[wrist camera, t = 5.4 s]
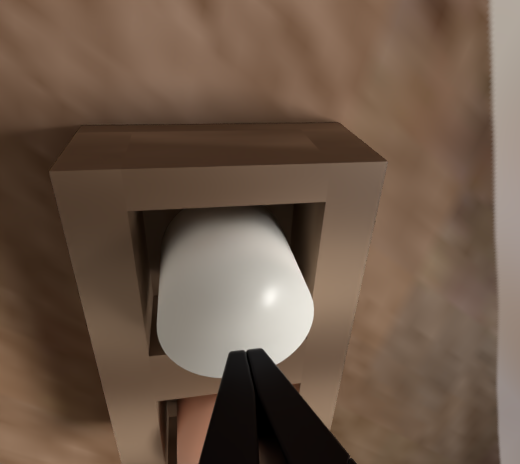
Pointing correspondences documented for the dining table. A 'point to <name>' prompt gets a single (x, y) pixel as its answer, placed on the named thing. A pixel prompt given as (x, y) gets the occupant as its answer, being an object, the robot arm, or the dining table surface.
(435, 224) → the dining table surface
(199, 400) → the peach rounded dome
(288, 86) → the dining table surface
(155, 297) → the button console
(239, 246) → the white rounded piece
